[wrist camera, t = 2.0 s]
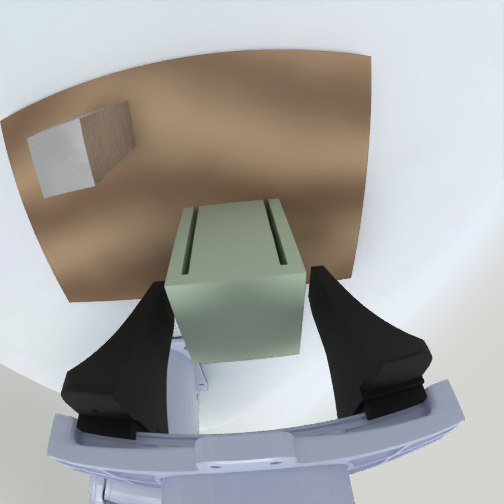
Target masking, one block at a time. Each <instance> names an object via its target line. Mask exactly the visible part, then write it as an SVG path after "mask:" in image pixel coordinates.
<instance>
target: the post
mask: <svg viewBox="0 0 504 504" xmlns="http://www.w3.org/2000/svg"><path fill="white" fill-rule="evenodd" d="M27 141H28V145H29V149H30V153H31V157H32V160H33V164H34V168H35V171H36V174H37V178H38V181H39V184H40V187H41V190H42V193H43V196H44V198H47V197H51V196H55V195H59V194H63V193H67V192H71V191H76V190H80V189H84V188H89V187H93V186H96V185H97V184H98V183H99V182H100V181H101V180H102V179H103V178H104V177H105V176H106V175H107V174H108V173H109V172H110V171H111V170H112V169H113V168H114V167H115V166H116V165H117V164H118V163H119V162H120V161H121V160H122V159H123V158H124V157H125V156H126V155H127V154H129V153H130V152H131V151H132V150H133V149H134V148H135V147H136V144H135V139H134V133H133V128H132V122H131V116H130V110H129V103H128V101H124V102H121V103H117V104H113V105H109V106H106V107H102V108H99V109H95V110H92V111H89V112H86V113H83V114H81V115H78V116H75V117H73V118H71V119H68V120H66V121H63V122H61V123H59V124H56V125H54V126H52V127H50V128H48V129H45V130H43V131H41V132H39V133H37V134H35V135H33V136H31V137H29V138H27Z"/></svg>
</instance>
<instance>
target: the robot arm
mask: <svg viewBox="0 0 504 504" xmlns="http://www.w3.org/2000/svg"><path fill="white" fill-rule="evenodd" d="M164 285H165V281H155V282H153V283H152V284H151V286H150V287H149V289H148V290H147V292H146V293H145V295H144V296H143V298H142V299H141V300H140V302H139V303H138V305H137V306H136V307H135V309H134V310H133V312H132V313H131V314H130V316H129V317H128V318H127V319H126V321H125V322H124V323H123V325H122V326H121V327H120V328H119V329H118V330H117V332H116V333H115V334H114V335H113V336H112V337H111V338H110V339H109V340H108V341H107V342H106V343H105V344H104V345H103V346H101V347H100V348H99V349H98V350H97V351H96V352H95V353H93V354H92V355H91V356H90V357H88V358H87V359H86V360H85V361H83V362H82V363H80V364H79V365H77V366H76V367H74V368H73V369H71V370H70V371H68V372H67V374H66V378H65V381H64V384H63V388H62V391H61V396H62V398H63V400H64V401H65V402H66V403H67V404H68V405H69V406H70V407H71V408H73V409H74V410H75V411H76V412H77V413H78V414H79V417H78V419H76V418H74V417H71V416H65V415H60V414H55V416H54V420H53V425H52V429H51V434H50V439H49V444H48V449H47V454H46V455H47V456H48V457H49V458H51V459H53V460H55V461H57V462H59V463H61V464H63V465H65V466H67V467H69V468H71V469H73V470H76V471H79V472H82V473H86V474H90V483H89V493H90V502H89V503H90V504H355V502H354V497H353V493H352V488H351V483H350V479H349V475H350V474H353V473H357V472H360V471H363V470H366V469H369V468H372V467H375V466H377V465H380V464H383V463H386V462H388V461H391V460H394V459H396V458H399V457H401V456H403V455H406V454H408V453H411V452H413V451H415V450H418V449H420V448H422V447H424V446H426V445H429V444H431V443H433V442H435V441H437V440H440V439H441V438H443V437H444V436H446V435H447V434H448V433H450V432H451V431H452V430H454V429H455V428H456V427H458V426H459V425H460V424H461V423H463V422H464V421H465V417H464V415H463V412H462V410H461V407H460V405H459V403H458V400H457V398H456V396H455V394H454V391H453V389H452V387H451V385H450V383H449V381H448V380H447V379H446V380H444V381H441V382H439V383H436V384H433V385H431V386H429V387H427V388H426V389H424V387H423V385H422V384H423V383H424V379H423V377H422V375H423V374H424V372H425V371H426V369H427V368H428V367H429V365H430V363H431V361H432V355H431V353H430V351H429V349H428V346H427V345H426V343H425V342H424V340H422V339H420V338H417V337H415V336H413V335H410V334H408V333H406V332H404V331H402V330H400V329H398V328H396V327H394V326H393V325H391V324H389V323H387V322H386V321H384V320H383V319H381V318H380V317H378V316H377V315H375V314H374V313H373V312H371V311H370V310H369V309H367V308H366V307H365V306H363V305H362V304H361V303H360V302H359V301H358V300H356V299H355V298H354V297H353V296H352V295H351V294H350V293H349V292H348V291H347V290H346V289H345V288H344V287H343V286H342V285H341V284H340V283H339V282H338V281H337V280H336V279H335V278H334V277H333V276H332V274H331V273H330V272H329V271H328V270H327V269H326V268H325V267H324V266H323V265H322V266H313V267H311V273H310V284H309V295H308V297H309V302H310V307H311V311H312V315H313V318H314V321H315V323H316V326H317V329H318V332H319V335H320V338H321V340H322V343H323V346H324V349H325V352H326V356H327V360H328V364H329V369H330V374H331V379H332V384H333V390H334V396H335V402H336V409H337V417H338V419H336V420H331V421H326V422H321V423H316V424H310V425H304V426H298V427H292V428H285V429H277V430H268V431H258V432H247V433H233V434H232V433H231V434H205V435H204V434H199V391H205V390H207V389H208V385H207V382H206V380H205V377H204V375H203V372H202V370H201V367H200V365H199V364H193V362H192V360H191V357H190V355H189V352H188V350H187V347H186V345H185V342H184V340H183V338H182V339H172V336H173V330H174V313H173V310H172V307H171V304H170V302H169V299H168V296H167V293H166V290H165V287H164Z"/></svg>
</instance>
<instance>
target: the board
mask: <svg viewBox="0 0 504 504" xmlns="http://www.w3.org/2000/svg"><path fill="white" fill-rule="evenodd" d="M124 101H128V103H129V110H130V116H131V122H132V128H133V133H134V139H135V144H136V147H135V148H134V149H133V150H132V151H131V152H130V153H129V154H127V155H126V156H125V157H124V158H123V159H122V160H121V161H120V162H119V163H118V164H117V165H116V166H115V167H114V168H113V169H112V170H111V171H110V172H109V173H108V174H107V175H106V176H105V177H104V178H103V179H102V180H101V181H100V182H99V183H98V184H97V185H96V186H93V187H89V188H84V189H80V190H76V191H71V192H67V193H63V194H59V195H55V196H51V197H47V198H44V196H43V193H42V190H41V187H40V184H39V181H38V178H37V174H36V171H35V168H34V164H33V160H32V157H31V153H30V149H29V145H28V141H27V138H29V137H31V136H33V135H35V134H37V133H39V132H41V131H43V130H45V129H48V128H50V127H52V126H54V125H56V124H59V123H61V122H63V121H66V120H68V119H71V118H73V117H75V116H78V115H81V114H83V113H86V112H89V111H92V110H95V109H99V108H102V107H106V106H109V105H113V104H117V103H121V102H124ZM370 116H371V56H365V55H358V54H350V53H340V52H329V51H314V50H249V51H234V52H222V53H213V54H205V55H197V56H190V57H184V58H178V59H172V60H167V61H162V62H157V63H152V64H148V65H144V66H139V67H135V68H131V69H128V70H124V71H120V72H117V73H113V74H110V75H107V76H103V77H100V78H97V79H94V80H91V81H88V82H85V83H82V84H80V85H77V86H74V87H72V88H69V89H66V90H64V91H61V92H59V93H56V94H54V95H52V96H49V97H47V98H45V99H43V100H40V101H38V102H36V103H34V104H32V105H30V106H28V107H26V108H24V109H22V110H20V111H18V112H16V113H14V114H12V115H10V116H8V117H6V118H5V119H3V120H1V121H0V123H1V128H2V133H3V137H4V141H5V146H6V150H7V153H8V157H9V161H10V164H11V168H12V171H13V175H14V178H15V181H16V184H17V187H18V190H19V193H20V196H21V199H22V202H23V204H24V207H25V210H26V212H27V215H28V218H29V220H30V223H31V225H32V228H33V230H34V232H35V235H36V237H37V239H38V241H39V244H40V246H41V248H42V250H43V252H44V255H45V257H46V259H47V261H48V263H49V265H50V267H51V269H52V271H53V273H54V275H55V277H56V279H57V281H58V282H59V284H60V286H61V288H62V290H63V292H64V293H65V295H66V297H67V299H68V300H69V302H93V301H114V300H132V299H142V298H143V296H144V295H145V293H146V292H147V290H148V289H149V287H150V286H151V284H152V283H153V282H155V281H166V276H167V272H168V268H169V263H170V259H171V255H172V251H173V247H174V243H175V239H176V235H177V231H178V227H179V224H180V220H181V216H182V212H183V209H184V208H188V207H194V209H195V215H196V221H197V216H198V210H199V206H205V205H214V204H223V203H233V202H243V201H254V200H263V202H264V205H265V209H266V213H267V216H268V220H269V206H268V199H277V198H279V200H280V203H281V205H282V208H283V211H284V213H285V216H286V218H287V221H288V224H289V226H290V229H291V232H292V234H293V237H294V240H295V242H296V245H297V248H298V251H299V253H300V256H301V259H302V262H303V264H304V267H305V270H306V284H309V283H310V273H311V267H313V266H322V265H323V266H324V267H325V268H326V269H327V270H328V271H329V272H330V273H331V274H332V276H333V277H334V278H335V279H336V280H341V279H348V278H351V275H352V270H353V265H354V259H355V253H356V248H357V242H358V235H359V229H360V222H361V215H362V208H363V200H364V191H365V183H366V173H367V162H368V150H369V135H370Z"/></svg>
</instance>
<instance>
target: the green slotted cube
mask: <svg viewBox="0 0 504 504" xmlns="http://www.w3.org/2000/svg"><path fill="white" fill-rule="evenodd" d="M268 206H269V220H268V216H267V213H266V209H265V205H264V202H263V200H254V201H243V202H233V203H223V204H214V205H205V206H199V210H198V216H197V221H196V215H195V209H194V207H188V208H184V209H183V212H182V216H181V220H180V224H179V227H178V231H177V235H176V239H175V243H174V247H173V251H172V255H171V259H170V263H169V268H168V272H167V276H166V281H165V285H164V287H165V290H166V293H167V296H168V299H169V302H170V304H171V307H172V310H173V313H174V316H175V318H176V321H177V324H178V326H179V329H180V332H181V334H182V337H183V340H184V342H185V345H186V347H187V350H188V352H189V355H190V357H191V360H192V362H193V364H200V363H217V362H231V361H243V360H253V359H263V358H272V357H280V356H288V355H295V354H299V350H300V341H301V331H302V321H303V310H304V298H305V285H306V270H305V267H304V264H303V262H302V259H301V256H300V253H299V251H298V248H297V245H296V242H295V240H294V237H293V234H292V232H291V229H290V226H289V224H288V221H287V218H286V216H285V213H284V211H283V208H282V205H281V203H280V200H279V198H277V199H268Z"/></svg>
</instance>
